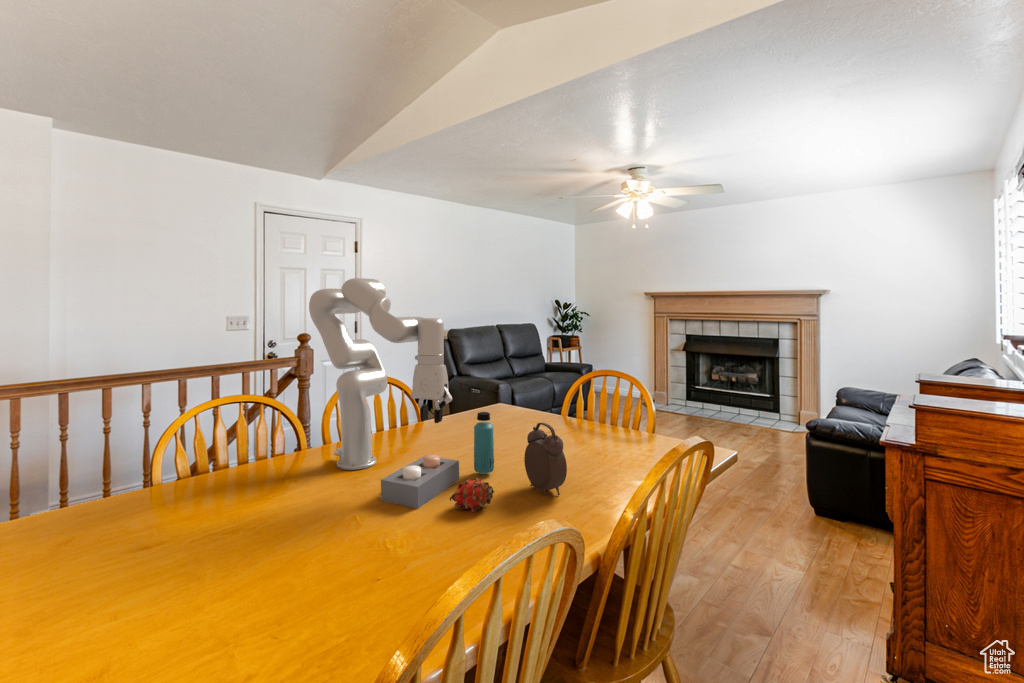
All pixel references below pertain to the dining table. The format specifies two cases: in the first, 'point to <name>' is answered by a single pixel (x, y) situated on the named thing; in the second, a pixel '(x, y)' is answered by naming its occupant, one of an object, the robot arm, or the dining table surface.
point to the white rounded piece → (412, 472)
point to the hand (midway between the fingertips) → (431, 420)
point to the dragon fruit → (472, 494)
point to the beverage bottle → (483, 444)
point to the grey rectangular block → (419, 484)
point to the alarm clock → (545, 460)
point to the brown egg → (431, 461)
